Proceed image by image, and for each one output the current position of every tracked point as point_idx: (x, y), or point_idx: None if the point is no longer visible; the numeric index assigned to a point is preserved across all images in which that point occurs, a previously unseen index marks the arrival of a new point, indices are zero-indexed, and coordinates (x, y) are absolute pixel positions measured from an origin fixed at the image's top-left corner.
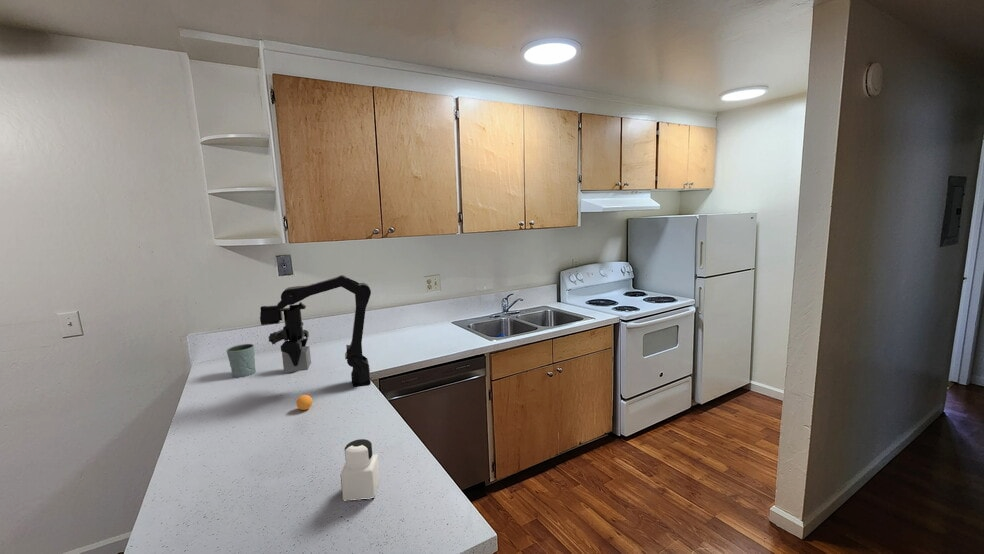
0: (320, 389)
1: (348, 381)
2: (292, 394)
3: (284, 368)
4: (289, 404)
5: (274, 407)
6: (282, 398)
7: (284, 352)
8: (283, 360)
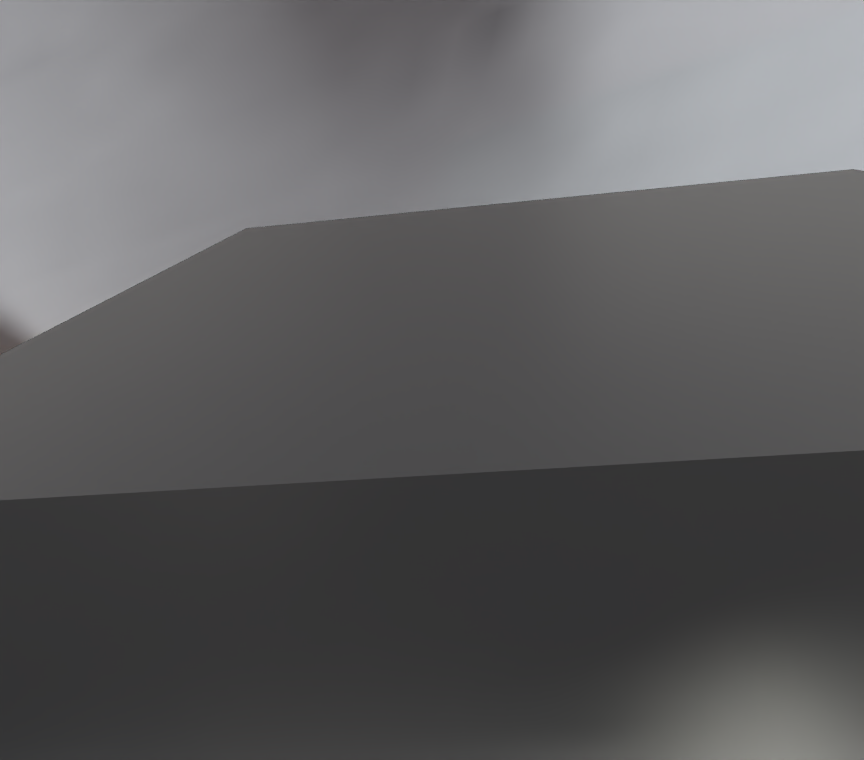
0: None
1: None
2: (482, 190)
3: (204, 253)
4: (167, 252)
5: (90, 80)
6: (369, 88)
7: (305, 498)
8: (30, 342)
